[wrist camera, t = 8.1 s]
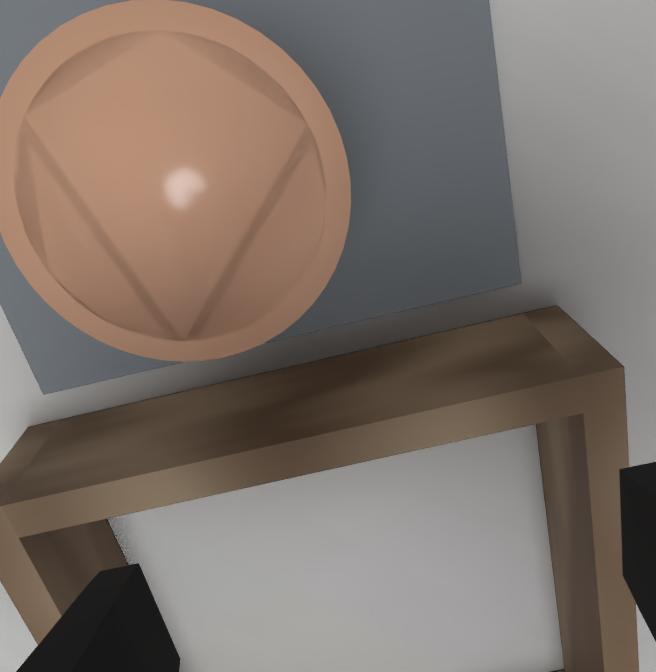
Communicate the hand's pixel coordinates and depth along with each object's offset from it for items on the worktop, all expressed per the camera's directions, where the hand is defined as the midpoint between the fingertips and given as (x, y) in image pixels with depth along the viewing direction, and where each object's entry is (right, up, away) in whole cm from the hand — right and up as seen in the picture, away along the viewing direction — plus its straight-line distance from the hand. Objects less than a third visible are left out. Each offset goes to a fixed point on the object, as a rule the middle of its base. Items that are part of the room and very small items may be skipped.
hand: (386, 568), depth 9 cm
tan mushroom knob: (-4, +8, +6) cm, 11 cm away
